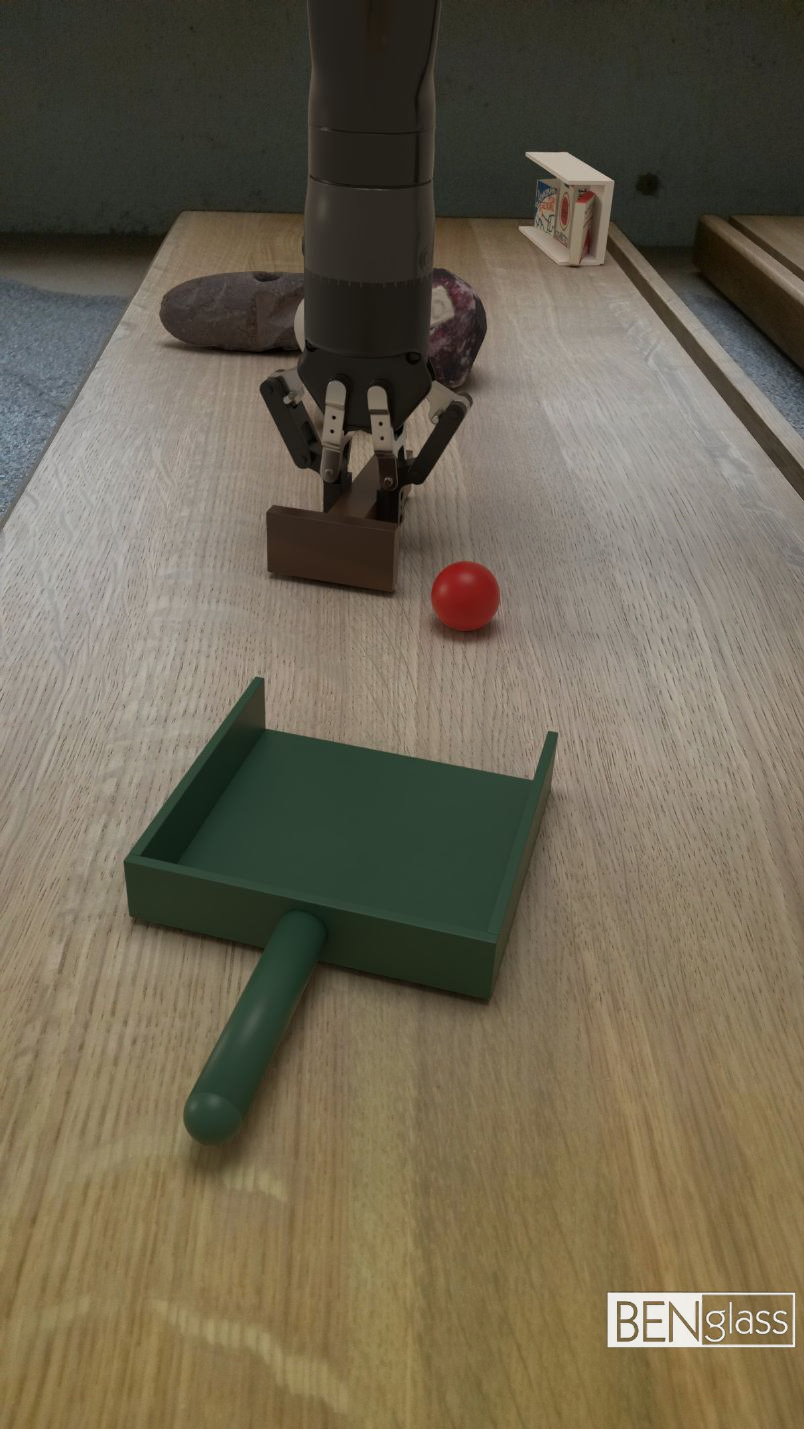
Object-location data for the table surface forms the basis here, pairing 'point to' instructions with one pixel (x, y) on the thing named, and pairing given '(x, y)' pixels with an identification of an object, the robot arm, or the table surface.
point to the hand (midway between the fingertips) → (362, 532)
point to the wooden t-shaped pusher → (338, 538)
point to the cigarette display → (570, 210)
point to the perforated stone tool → (235, 310)
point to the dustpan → (330, 877)
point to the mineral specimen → (454, 328)
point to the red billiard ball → (465, 595)
